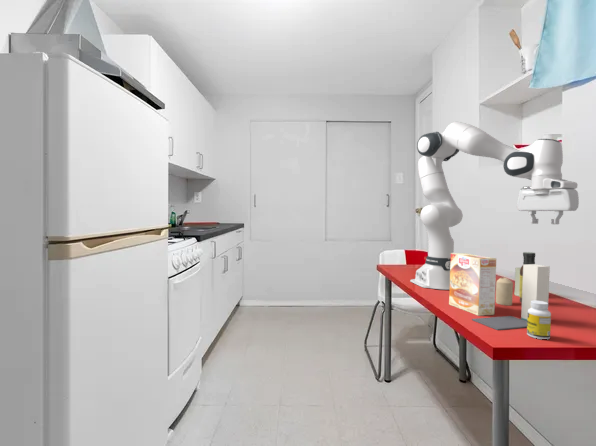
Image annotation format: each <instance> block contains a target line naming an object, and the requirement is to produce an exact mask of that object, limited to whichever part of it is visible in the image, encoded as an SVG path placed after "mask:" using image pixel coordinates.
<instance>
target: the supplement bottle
mask: <svg viewBox="0 0 596 446" xmlns="http://www.w3.org/2000/svg"><path fill="white" fill-rule="evenodd" d="M531 307H532V308H530V309H528V318H527V328H526V335H528V337H531V338H532V339H536V338H537V340H542V339H547V340H549V339H550V338H551V322H552V320H551V319H552V313H551V311H550V310H549V302H548V303H547V302H544V301H537V300H533V301H531ZM547 309H548V310H547Z"/></svg>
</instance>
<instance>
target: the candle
mask: <svg viewBox="0 0 596 446" xmlns="http://www.w3.org/2000/svg"><path fill="white" fill-rule="evenodd" d="M513 291H514V282H513V280H510V279H509V278H507V277H500V278H498V279H496V283H495V304H497V305H501V306H513V296H514V292H513Z"/></svg>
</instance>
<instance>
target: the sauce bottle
mask: <svg viewBox="0 0 596 446" xmlns="http://www.w3.org/2000/svg"><path fill="white" fill-rule="evenodd" d="M522 256H523V257H522V258H523V262H522V263H523V264H522V265H521V266H520V267H519V268H520V285H519V296H518V297H519V302H520V303H521V304H522V287H523V265H524V264H536V259H535V258H536V252H533V251H532V252H531V251H523V253H522Z"/></svg>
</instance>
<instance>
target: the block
mask: <svg viewBox="0 0 596 446" xmlns="http://www.w3.org/2000/svg"><path fill="white" fill-rule="evenodd" d="M522 265H523V264H522ZM550 269H551V268H550V265H549V266H548V265H543V264H537V263H535V264H524V265H523V287H522V303H521V310H520V311H521V313H520V316H521V317H520V319H522V320H525V321H527V318H528V309H530V308H532V307H531V301H533V300H537V301H544V302H547V303H548V304H549V295H550V291H549V289H550V272H551V270H550ZM547 310H548V311H549V308H548V309H547Z"/></svg>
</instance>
